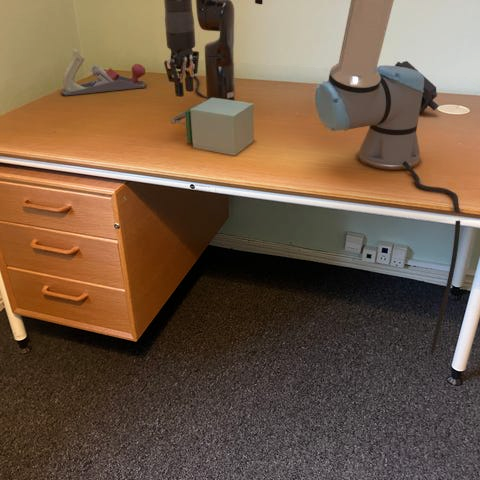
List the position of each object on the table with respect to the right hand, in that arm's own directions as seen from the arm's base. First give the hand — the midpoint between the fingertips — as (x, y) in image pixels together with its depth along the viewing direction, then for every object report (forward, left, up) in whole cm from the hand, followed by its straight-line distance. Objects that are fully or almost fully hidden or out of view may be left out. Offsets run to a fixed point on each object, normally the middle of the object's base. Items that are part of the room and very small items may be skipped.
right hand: (279, 1), depth 148 cm
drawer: (-16, +22, -33) cm, 43 cm away
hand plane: (+40, +60, -34) cm, 80 cm away
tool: (+6, -42, -34) cm, 54 cm away
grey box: (-19, +17, -34) cm, 42 cm away
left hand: (-13, +27, -21) cm, 37 cm away
